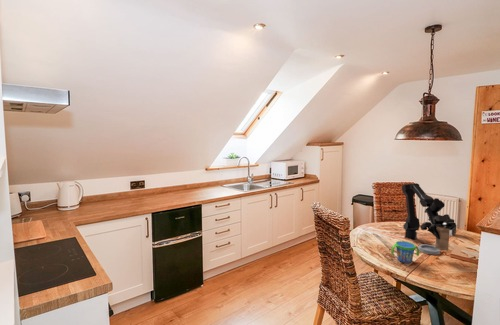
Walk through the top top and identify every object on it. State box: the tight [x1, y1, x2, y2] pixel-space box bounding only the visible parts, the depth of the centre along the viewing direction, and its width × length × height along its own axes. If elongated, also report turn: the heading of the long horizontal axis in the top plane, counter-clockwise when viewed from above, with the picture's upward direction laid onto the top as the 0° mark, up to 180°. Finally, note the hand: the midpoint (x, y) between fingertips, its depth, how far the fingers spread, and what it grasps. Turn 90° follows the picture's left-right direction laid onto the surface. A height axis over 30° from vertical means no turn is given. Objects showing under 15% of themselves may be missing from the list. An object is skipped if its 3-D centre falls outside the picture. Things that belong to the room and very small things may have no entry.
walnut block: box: [434, 227, 450, 252], centre depth 165 cm, size 5×5×13 cm
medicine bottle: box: [444, 217, 457, 237], centre depth 208 cm, size 7×7×12 cm
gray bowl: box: [417, 243, 441, 256], centre depth 179 cm, size 12×12×2 cm
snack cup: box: [390, 240, 420, 264], centre depth 165 cm, size 16×10×10 cm
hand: (443, 239), depth 164 cm, fingers closed on walnut block, 5 cm apart
